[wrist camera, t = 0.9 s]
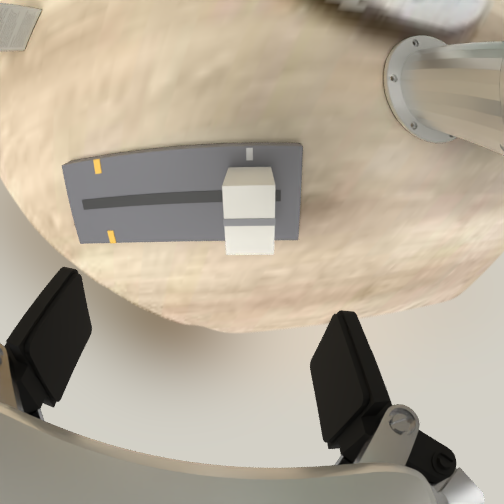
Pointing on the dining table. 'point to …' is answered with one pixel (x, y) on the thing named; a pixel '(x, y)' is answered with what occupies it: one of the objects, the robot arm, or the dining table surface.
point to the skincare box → (16, 26)
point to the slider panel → (175, 191)
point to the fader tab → (249, 210)
